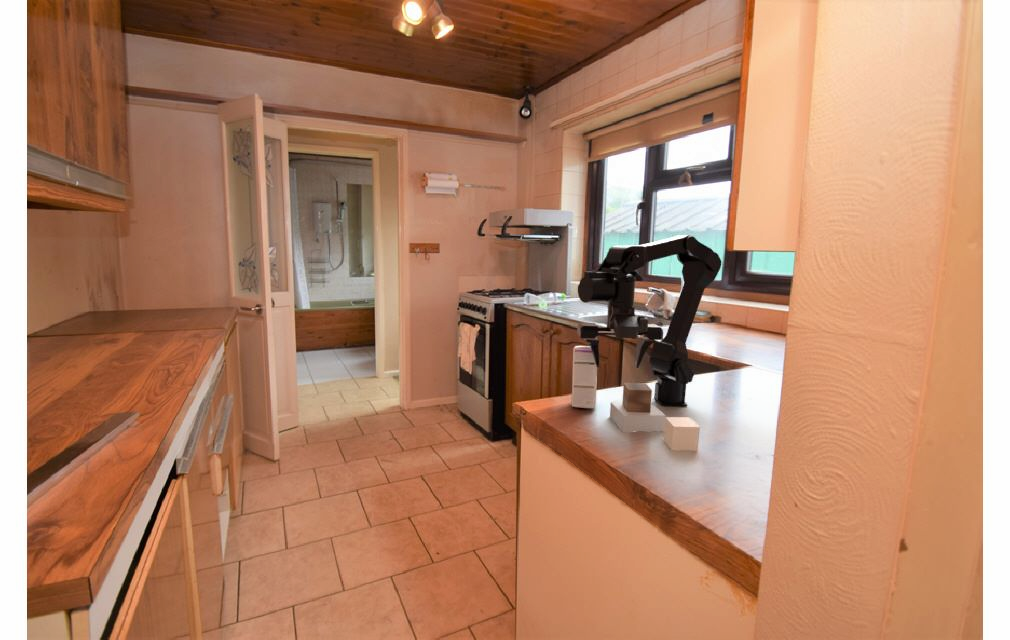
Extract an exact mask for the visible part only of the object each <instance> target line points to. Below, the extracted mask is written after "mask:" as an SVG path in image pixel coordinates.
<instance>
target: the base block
mask: <svg viewBox="0 0 1010 640" xmlns="http://www.w3.org/2000/svg"><path fill="white" fill-rule="evenodd" d="M622 403H623V401H610V408H609V417H611V418H612V419H611V418H610V419H611V420H612V421H613V422H614V423H615V424H616V426H618V427H620V428H621V429H622V430H621V429H620V428H619V429H620V430H621V431H622V432H623V433H634V432H633V431H657V432H664V426H665V417H667V416H666V414H664V412H662V411H661V410H660V409H659V408H658V407H656V406H655V405H654V404H652V403H651V410H650V413H645V412H627V411H626V409H625V408H624V406H623V404H622Z"/></svg>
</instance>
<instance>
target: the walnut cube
mask: <svg viewBox="0 0 1010 640" xmlns="http://www.w3.org/2000/svg"><path fill="white" fill-rule="evenodd" d="M622 387H623V390H622V391H623V392H622V402H623V403H622V404H623V406H624V408H625V409H626V411H627V412H645V413H650V410H651V404H652V395H653V390H652V388H650V386H649V385H648V384H647V383H642V382H640V383H639V382H636V383H635V382H623V386H622Z"/></svg>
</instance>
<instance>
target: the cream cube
mask: <svg viewBox="0 0 1010 640" xmlns="http://www.w3.org/2000/svg"><path fill="white" fill-rule="evenodd" d="M700 431H701V427H700V426H699V425H698V424H697V423H696V422H695V421H694V420H693V419H692V418H691V417H685V416H684V417H683V416H681V417H679V416H677V417H676V416H665V426H664V431H663V439H664V440H665V441H664V440H663V441H664V442H665V444H666V443H667V444H668V445H667V444H666V445H667V447H668V448H669V449H670V448H671V449H670V450H671V451H673V450H675V451H676V452H678V451H677V450H684V451H683V452H687V451H686V450H690V451H689V452H698V451H699V441H700ZM692 450H693V451H692ZM675 451H674V452H675Z"/></svg>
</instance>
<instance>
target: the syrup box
mask: <svg viewBox="0 0 1010 640" xmlns="http://www.w3.org/2000/svg"><path fill="white" fill-rule="evenodd" d="M572 349H573V353H572V380H571V407H574V408H583V409H595V408H596V406H597V404H596V403H597V383H598V382H597V380H598V379H597V378H598V367H597V366H596V363H595V360H594V357H593V353H592V350H591V347H590V345H575V346H574V347H573V348H572Z"/></svg>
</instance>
